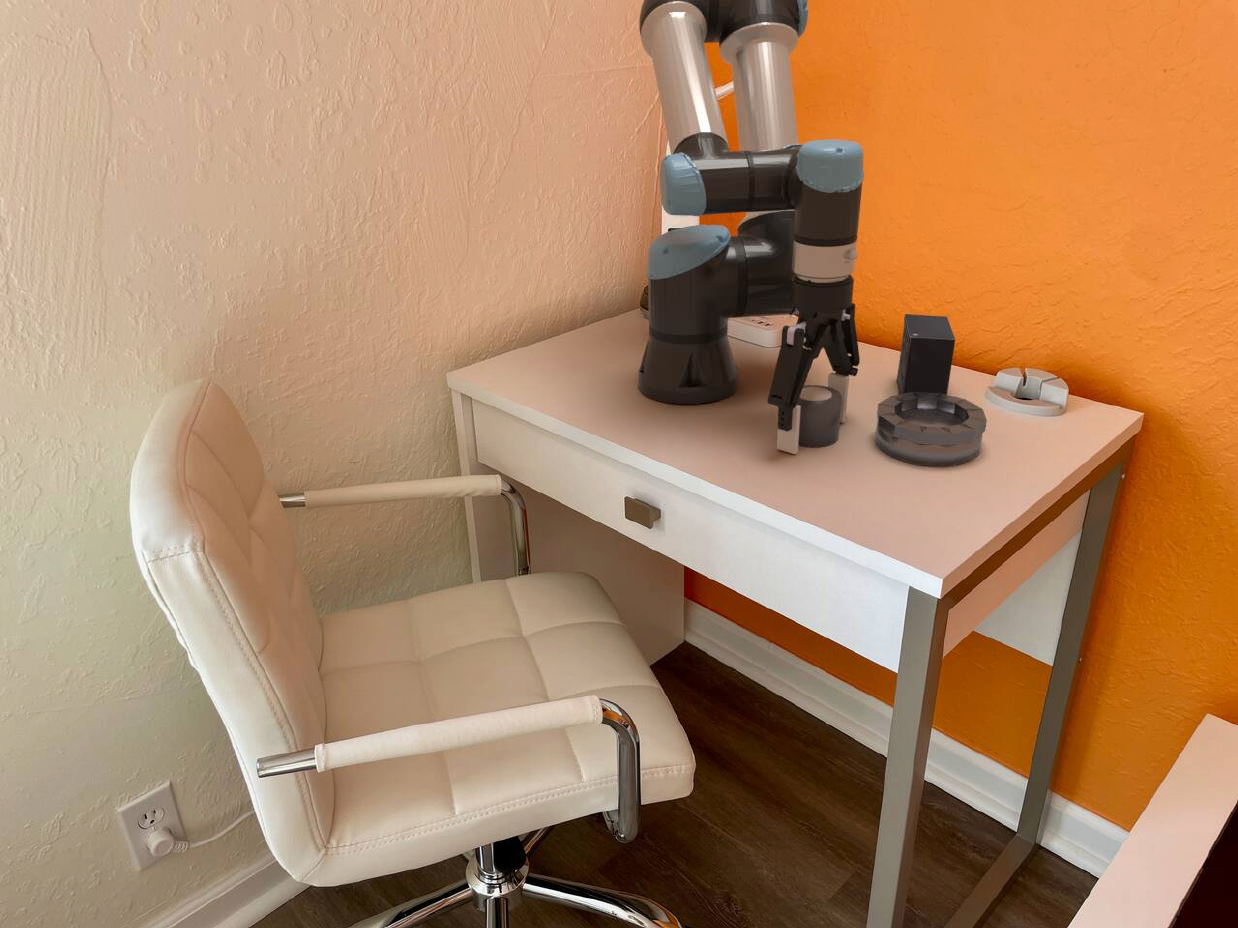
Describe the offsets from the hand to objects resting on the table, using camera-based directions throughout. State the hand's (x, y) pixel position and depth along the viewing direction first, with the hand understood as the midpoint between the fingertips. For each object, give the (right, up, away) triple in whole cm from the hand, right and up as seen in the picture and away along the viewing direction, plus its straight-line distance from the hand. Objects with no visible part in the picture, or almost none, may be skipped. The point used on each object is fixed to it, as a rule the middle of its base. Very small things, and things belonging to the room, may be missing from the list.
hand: (812, 434), depth 123 cm
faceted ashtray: (+14, -1, -3) cm, 15 cm away
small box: (+18, +6, +12) cm, 23 cm away
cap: (0, 0, 0) cm, 0 cm away
